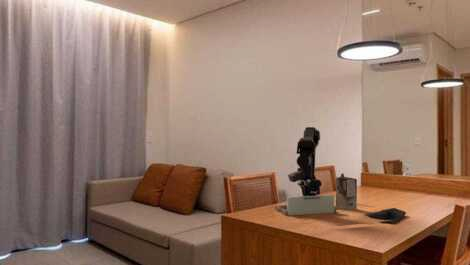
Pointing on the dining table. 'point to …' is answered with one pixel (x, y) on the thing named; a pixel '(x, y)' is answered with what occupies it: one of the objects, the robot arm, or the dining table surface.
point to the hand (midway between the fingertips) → (305, 198)
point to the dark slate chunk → (388, 215)
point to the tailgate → (310, 204)
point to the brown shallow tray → (284, 211)
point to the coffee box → (346, 193)
